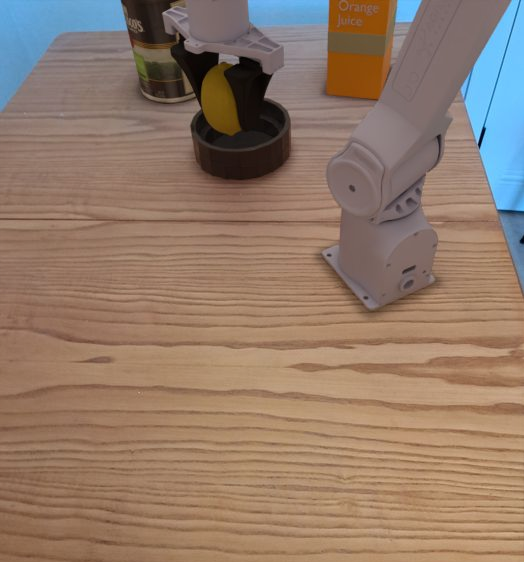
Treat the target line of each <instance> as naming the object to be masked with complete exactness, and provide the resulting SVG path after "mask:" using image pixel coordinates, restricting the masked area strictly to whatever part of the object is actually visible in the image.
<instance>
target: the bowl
mask: <svg viewBox="0 0 524 562" xmlns="http://www.w3.org/2000/svg"><path fill="white" fill-rule="evenodd" d="M291 122H292V119H291V117H290V114H289V111H288V109H286V108H285V107H284V106H283V105H282V104H281V103H279V102H277V101H275V100H273V99H271V98H268V97H264V100H263V104H262V109H261V114H260V120H259V125H257V126H256V127H254V128H253V129H251V130H250V131H248V132H244V131H242V130H241V131H239V132H236V133H235V134H234V135H228V134H225V133H222V132H219V131H217V130H215V129H214V128H213V127H212V126H211V125H210V124H209V123H208V121H207V119H206V117H205V115H204V112H203V111H202V109H201V108H200V109H199V111H198V112H196V114H194V115H193V117H192V120H191V122H190V125H189V127H190V133H191V140H192V145H193V150H194V155H195V156H194V157H195V162H196V163H197V165H198V166H199V167H200V169H201V170H202V171H204V172H205V173H207V174H209V175H211V176H212V177H214V178H218V179H223V180H226V181H248V180H254V179H259V178H262V177H264V176H267V175H270V174H273V173H275V172H276V171H278V170H279V169H281V168H282V167H283V166H284V165H285V164H286V162H287V161H288V160H289V159H290V156H291V151H292V123H291Z"/></svg>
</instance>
